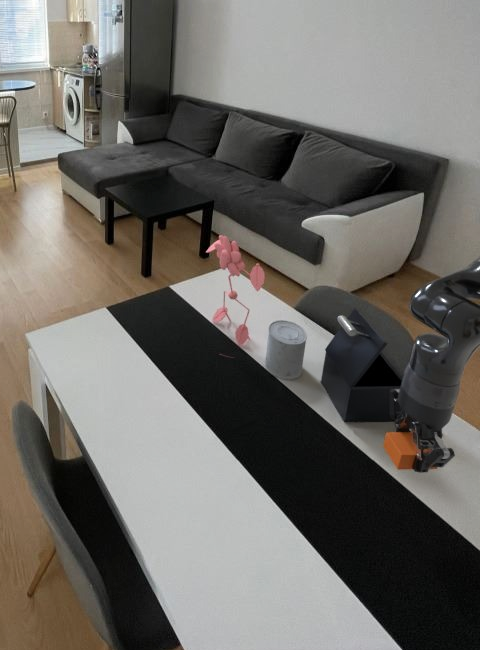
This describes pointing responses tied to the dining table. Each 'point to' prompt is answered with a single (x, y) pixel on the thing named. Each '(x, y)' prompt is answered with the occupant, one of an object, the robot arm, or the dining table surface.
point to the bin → (362, 391)
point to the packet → (401, 449)
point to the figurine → (233, 262)
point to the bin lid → (355, 346)
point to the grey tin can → (285, 349)
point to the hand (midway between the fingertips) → (409, 456)
